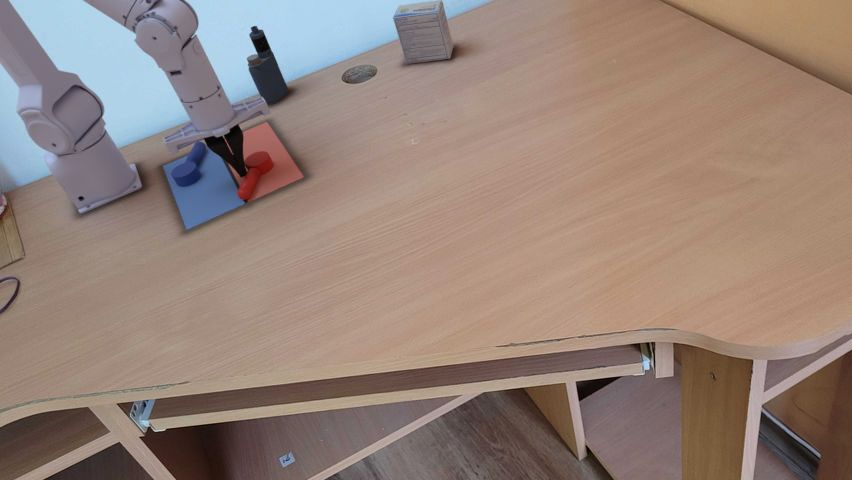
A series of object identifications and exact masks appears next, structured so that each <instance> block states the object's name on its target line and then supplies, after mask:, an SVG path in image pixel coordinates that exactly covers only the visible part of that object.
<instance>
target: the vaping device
mask: <svg viewBox="0 0 852 480" xmlns="http://www.w3.org/2000/svg"><path fill="white" fill-rule="evenodd" d="M250 31H251V32H250V33H249V35H248V36H249V38H250V41H251V42H252V45H253V47H254V49H255V52H256V53H255V54H251V55H249V56H247V57H246V61H247V67H248V69H247V70H248V72H249V74H250V76H251V78H252V81H253V83H254V85H255V87H256V90H257V91H258V95H259V97H263V98H264V100H265V101H266V103H267V105H273V104H276V103H278V101H279V100H281V99H282V98H283V97H285V96H286V95H288V93H289V92H290V90H289V88H288V84H287V83H286V80H285V78H284V76H283V73H282V71H281V69H280V67H279V63H278V61H277V59H276V56H275V54H274V52H273V51H272V48H271V46H270V43H269V41H268V39H267V36H266V34H265V31H264V29H259V28H258V25H252V26H251V27H250Z"/></svg>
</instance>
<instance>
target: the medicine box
mask: <svg viewBox="0 0 852 480" xmlns="http://www.w3.org/2000/svg"><path fill="white" fill-rule="evenodd" d="M392 19H393V23H394V27H395V30H396V33H397V36H398V40H399V43H400V46H401V50H402V53H403V57H404V62H405V63H406V65H410V64H417V63H425V62H433V61H442V60H450V59H451V57H452V54H453V49H454V42H453V38H452V35H451V31H450V27H449V22H448V18H447V15H446V10H445V5H444V2H443V0H430V1H423V2H422V1H421V2H416V3H414V2H413V3H409V4H400V5H398V6H397V8H396V10H395V12H394V14H393V16H392Z"/></svg>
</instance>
